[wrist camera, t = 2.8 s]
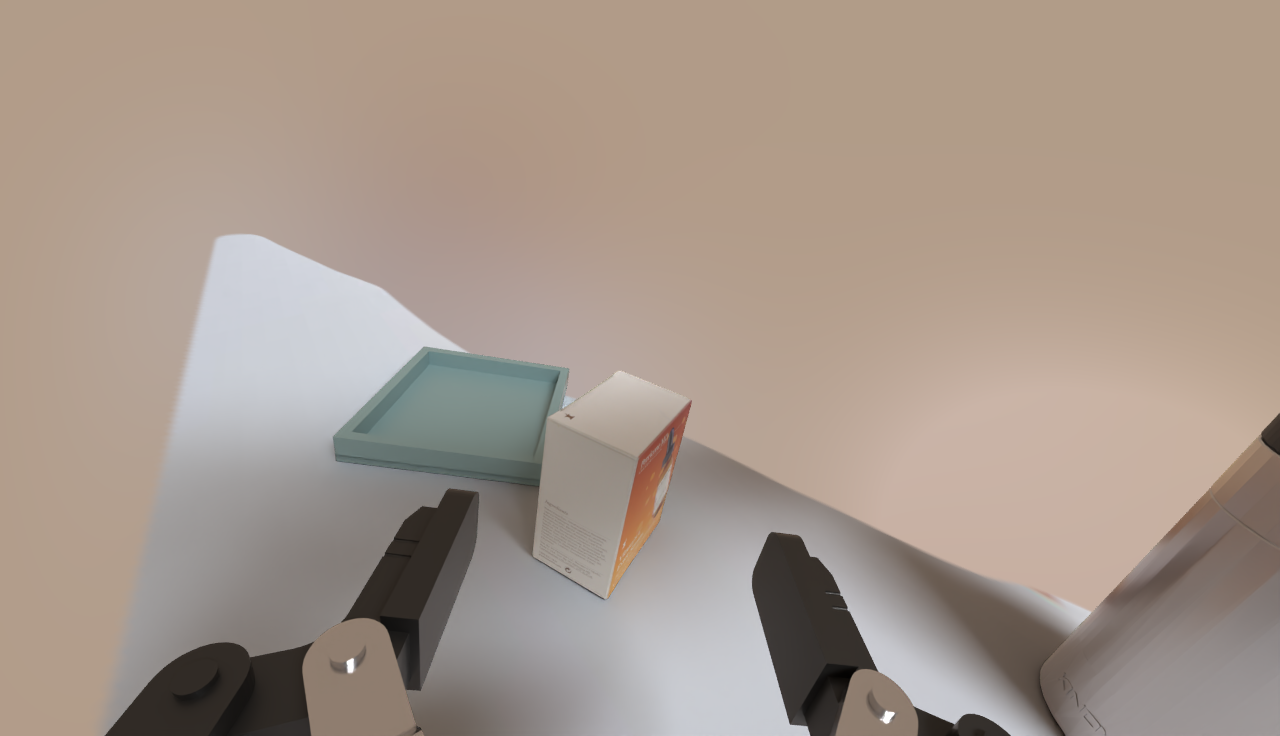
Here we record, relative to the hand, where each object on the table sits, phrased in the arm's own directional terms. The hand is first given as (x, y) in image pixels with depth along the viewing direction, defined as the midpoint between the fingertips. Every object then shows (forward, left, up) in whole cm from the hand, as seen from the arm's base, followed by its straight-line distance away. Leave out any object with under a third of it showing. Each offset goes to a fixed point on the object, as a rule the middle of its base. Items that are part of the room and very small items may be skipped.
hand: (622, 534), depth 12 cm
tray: (+11, -25, -14) cm, 31 cm away
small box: (-1, -13, -15) cm, 20 cm away
